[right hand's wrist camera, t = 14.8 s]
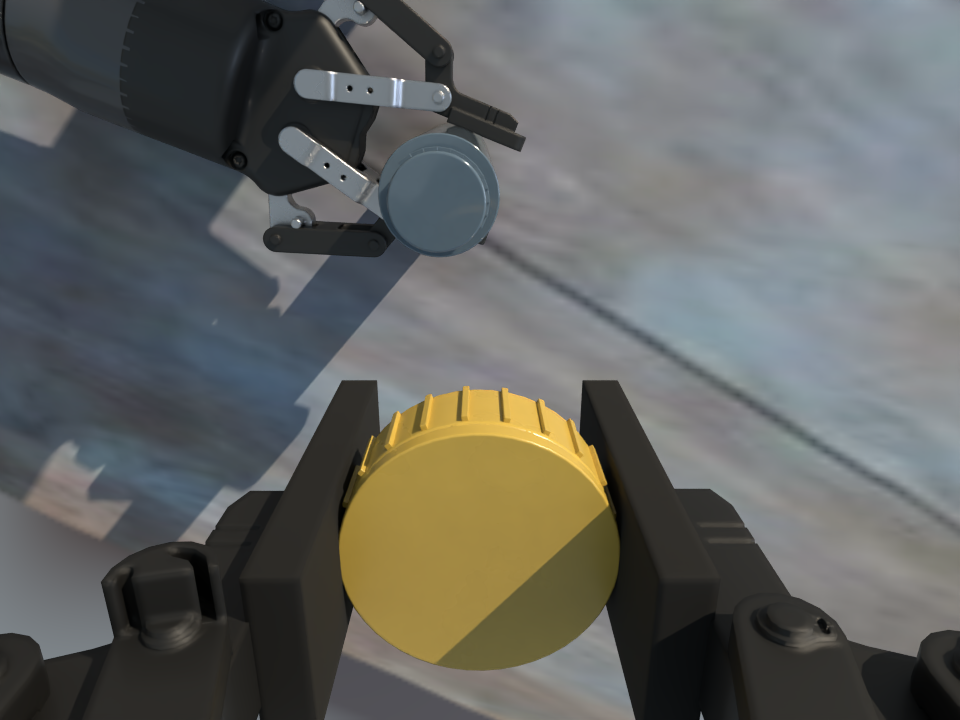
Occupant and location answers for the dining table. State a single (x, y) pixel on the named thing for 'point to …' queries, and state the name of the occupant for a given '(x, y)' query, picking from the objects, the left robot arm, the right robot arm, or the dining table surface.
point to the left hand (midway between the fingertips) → (502, 189)
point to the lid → (479, 532)
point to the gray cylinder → (440, 192)
